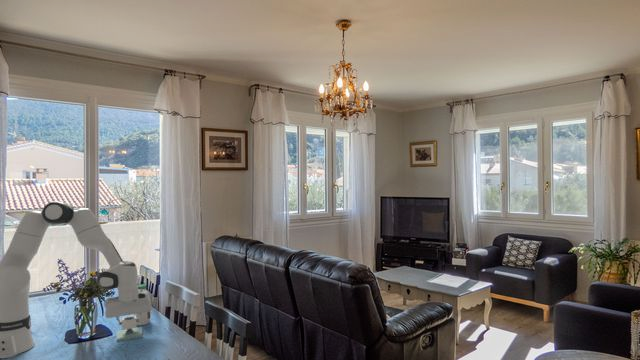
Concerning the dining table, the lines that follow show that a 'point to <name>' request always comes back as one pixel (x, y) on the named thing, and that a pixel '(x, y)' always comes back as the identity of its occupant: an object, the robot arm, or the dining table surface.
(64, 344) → the dining table surface
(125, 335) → the post stand
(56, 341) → the dining table surface
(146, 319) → the milk bottle
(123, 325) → the beige square open box
